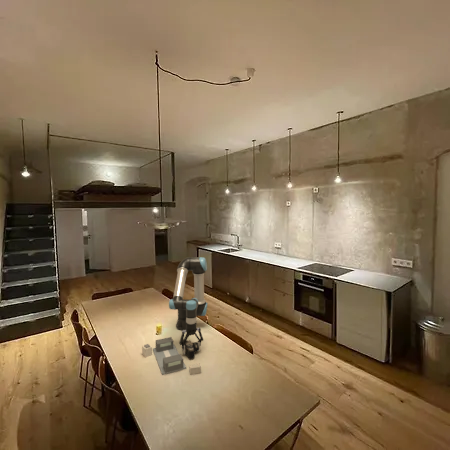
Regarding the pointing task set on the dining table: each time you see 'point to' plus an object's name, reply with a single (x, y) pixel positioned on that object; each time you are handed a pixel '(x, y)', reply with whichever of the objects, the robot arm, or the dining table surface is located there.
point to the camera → (191, 348)
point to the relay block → (147, 350)
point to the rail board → (168, 356)
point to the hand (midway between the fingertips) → (191, 351)
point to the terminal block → (195, 369)
